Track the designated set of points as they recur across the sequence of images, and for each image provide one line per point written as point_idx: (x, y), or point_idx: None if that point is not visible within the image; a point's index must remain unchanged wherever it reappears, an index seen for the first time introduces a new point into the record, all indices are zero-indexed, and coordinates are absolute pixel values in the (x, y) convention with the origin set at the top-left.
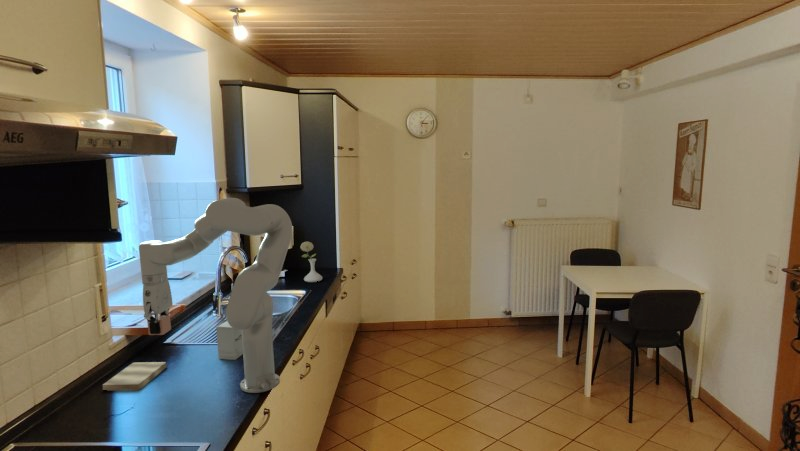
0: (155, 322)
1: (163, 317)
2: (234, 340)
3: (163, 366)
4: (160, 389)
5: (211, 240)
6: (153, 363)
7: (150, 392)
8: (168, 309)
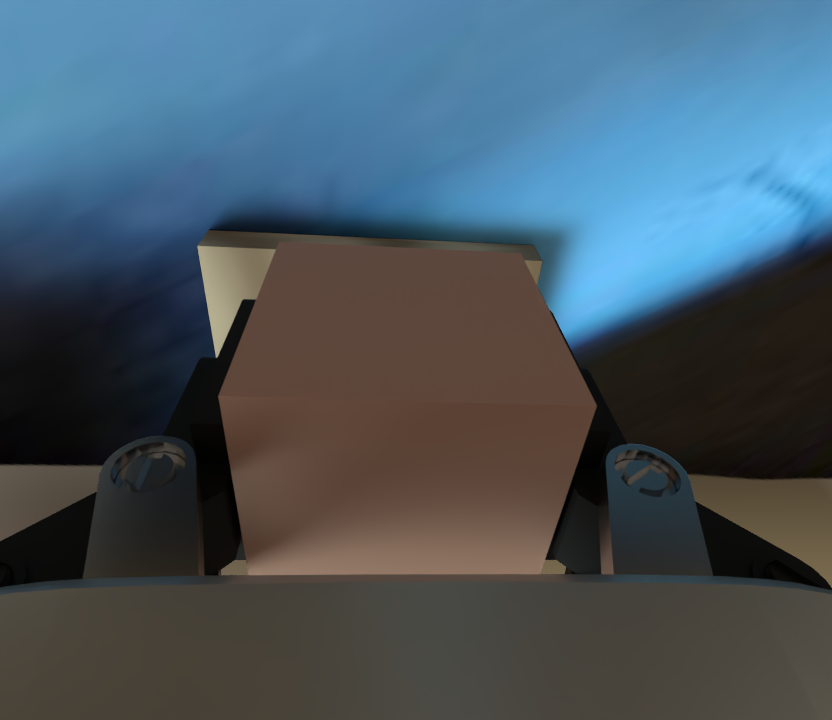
0: (664, 469)
1: (389, 456)
2: None
3: (239, 240)
4: (554, 107)
5: None
6: (230, 317)
7: (583, 158)
8: (3, 562)
